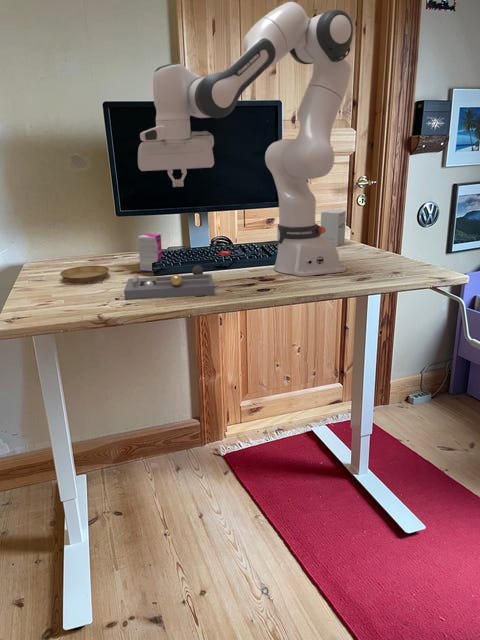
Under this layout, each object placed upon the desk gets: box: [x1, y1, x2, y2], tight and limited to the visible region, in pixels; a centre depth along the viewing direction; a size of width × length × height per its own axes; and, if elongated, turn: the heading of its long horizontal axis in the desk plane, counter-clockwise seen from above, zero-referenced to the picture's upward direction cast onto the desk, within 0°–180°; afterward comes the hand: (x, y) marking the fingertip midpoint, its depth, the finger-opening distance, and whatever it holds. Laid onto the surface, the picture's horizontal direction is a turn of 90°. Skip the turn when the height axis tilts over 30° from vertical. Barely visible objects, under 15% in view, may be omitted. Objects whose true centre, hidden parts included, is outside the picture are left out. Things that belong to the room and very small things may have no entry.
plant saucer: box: [59, 264, 110, 285], centre depth 155 cm, size 15×15×3 cm
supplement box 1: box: [137, 233, 163, 273], centre depth 161 cm, size 6×6×12 cm
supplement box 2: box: [320, 209, 347, 248], centre depth 190 cm, size 7×7×13 cm
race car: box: [218, 250, 232, 256], centre depth 168 cm, size 13×5×4 cm, turn 167°
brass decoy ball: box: [170, 274, 182, 286], centre depth 136 cm, size 3×3×3 cm
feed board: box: [123, 273, 215, 301], centre depth 140 cm, size 24×12×4 cm, turn 96°
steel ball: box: [143, 281, 155, 286], centre depth 140 cm, size 3×3×3 cm
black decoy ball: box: [191, 264, 204, 275], centre depth 144 cm, size 3×3×3 cm
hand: (178, 186), depth 136 cm, fingers closed
